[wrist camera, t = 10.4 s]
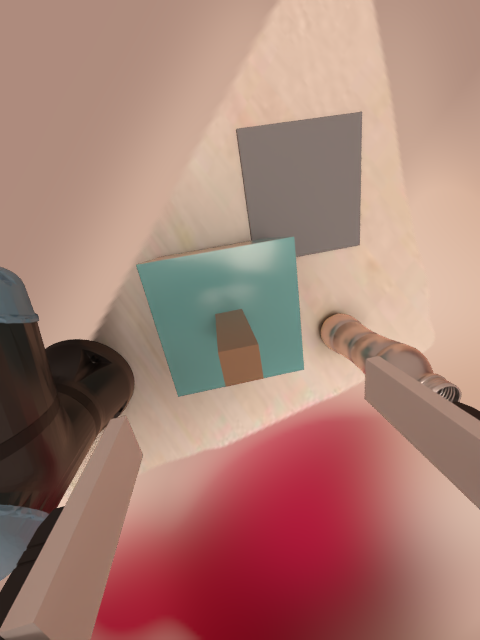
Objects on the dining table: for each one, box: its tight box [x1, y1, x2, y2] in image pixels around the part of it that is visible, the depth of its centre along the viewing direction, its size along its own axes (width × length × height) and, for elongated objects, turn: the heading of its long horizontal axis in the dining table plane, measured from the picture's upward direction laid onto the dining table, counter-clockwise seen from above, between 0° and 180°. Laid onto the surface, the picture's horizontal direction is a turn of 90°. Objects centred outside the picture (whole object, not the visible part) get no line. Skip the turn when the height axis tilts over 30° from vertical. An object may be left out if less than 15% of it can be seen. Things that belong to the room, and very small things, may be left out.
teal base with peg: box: [136, 237, 304, 397], centre depth 26 cm, size 16×16×20 cm
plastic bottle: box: [321, 314, 461, 403], centre depth 31 cm, size 6×7×20 cm
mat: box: [236, 112, 362, 257], centre depth 32 cm, size 17×17×1 cm
